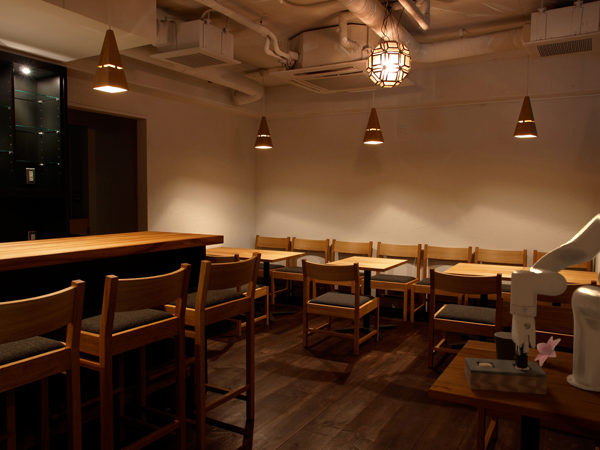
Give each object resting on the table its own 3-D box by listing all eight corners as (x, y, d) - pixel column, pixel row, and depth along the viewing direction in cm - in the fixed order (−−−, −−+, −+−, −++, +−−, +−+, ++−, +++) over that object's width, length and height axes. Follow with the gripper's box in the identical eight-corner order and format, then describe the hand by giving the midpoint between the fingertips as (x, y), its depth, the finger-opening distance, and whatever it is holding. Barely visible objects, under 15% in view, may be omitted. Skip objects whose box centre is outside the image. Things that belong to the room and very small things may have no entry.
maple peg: (490, 379, 155) (490, 363, 155) (493, 384, 151) (493, 367, 151) (477, 378, 156) (477, 362, 156) (479, 383, 152) (480, 366, 152)
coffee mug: (509, 368, 167) (510, 340, 167) (488, 361, 175) (489, 334, 174) (530, 362, 173) (530, 335, 172) (509, 356, 180) (509, 330, 180)
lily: (538, 358, 181) (527, 337, 180) (571, 351, 175) (560, 329, 173) (538, 378, 171) (526, 355, 170) (573, 371, 165) (561, 348, 163)
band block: (534, 379, 156) (535, 361, 156) (546, 394, 145) (546, 374, 144) (464, 375, 160) (464, 357, 160) (470, 388, 149) (470, 369, 148)
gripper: (543, 315, 142) (541, 376, 143) (529, 305, 157) (527, 360, 158) (516, 314, 144) (514, 374, 145) (505, 304, 158) (503, 358, 159)
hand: (521, 366), depth 151 cm, fingers closed
